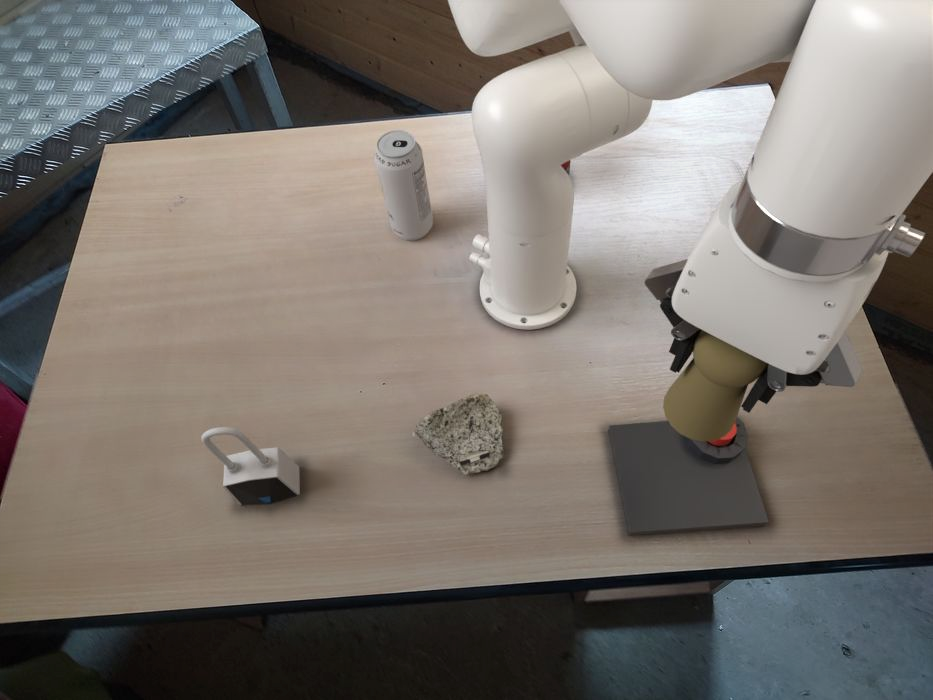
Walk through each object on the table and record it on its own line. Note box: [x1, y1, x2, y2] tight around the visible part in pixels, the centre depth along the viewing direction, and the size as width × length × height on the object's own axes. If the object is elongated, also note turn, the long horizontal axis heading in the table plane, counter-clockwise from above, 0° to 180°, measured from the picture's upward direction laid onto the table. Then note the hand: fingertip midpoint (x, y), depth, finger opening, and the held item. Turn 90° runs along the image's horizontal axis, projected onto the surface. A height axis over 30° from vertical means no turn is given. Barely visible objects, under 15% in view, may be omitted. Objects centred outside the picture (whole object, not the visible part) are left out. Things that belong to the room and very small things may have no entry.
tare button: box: [708, 423, 737, 446], centre depth 66 cm, size 3×3×2 cm
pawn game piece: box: [662, 330, 768, 442], centre depth 49 cm, size 6×6×11 cm
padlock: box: [200, 426, 301, 506], centre depth 63 cm, size 7×4×15 cm, turn 99°
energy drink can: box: [374, 129, 434, 241], centre depth 83 cm, size 6×6×15 cm
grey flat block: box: [607, 416, 770, 537], centre depth 66 cm, size 14×12×3 cm
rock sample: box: [412, 392, 505, 476], centre depth 69 cm, size 10×8×9 cm
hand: (717, 376), depth 48 cm, fingers closed on pawn game piece, 5 cm apart
